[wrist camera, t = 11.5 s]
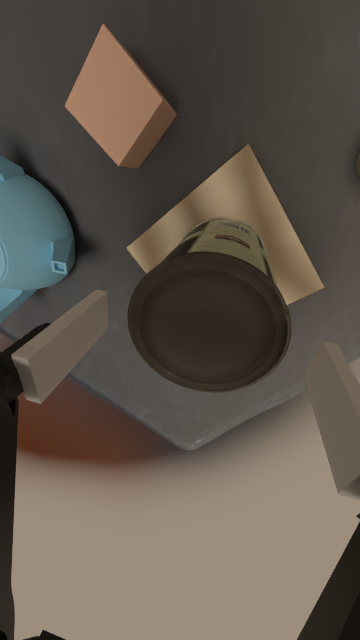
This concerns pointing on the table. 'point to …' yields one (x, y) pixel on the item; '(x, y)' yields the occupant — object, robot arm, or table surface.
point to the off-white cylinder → (358, 165)
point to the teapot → (30, 238)
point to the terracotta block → (119, 103)
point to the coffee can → (212, 310)
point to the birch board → (241, 204)
